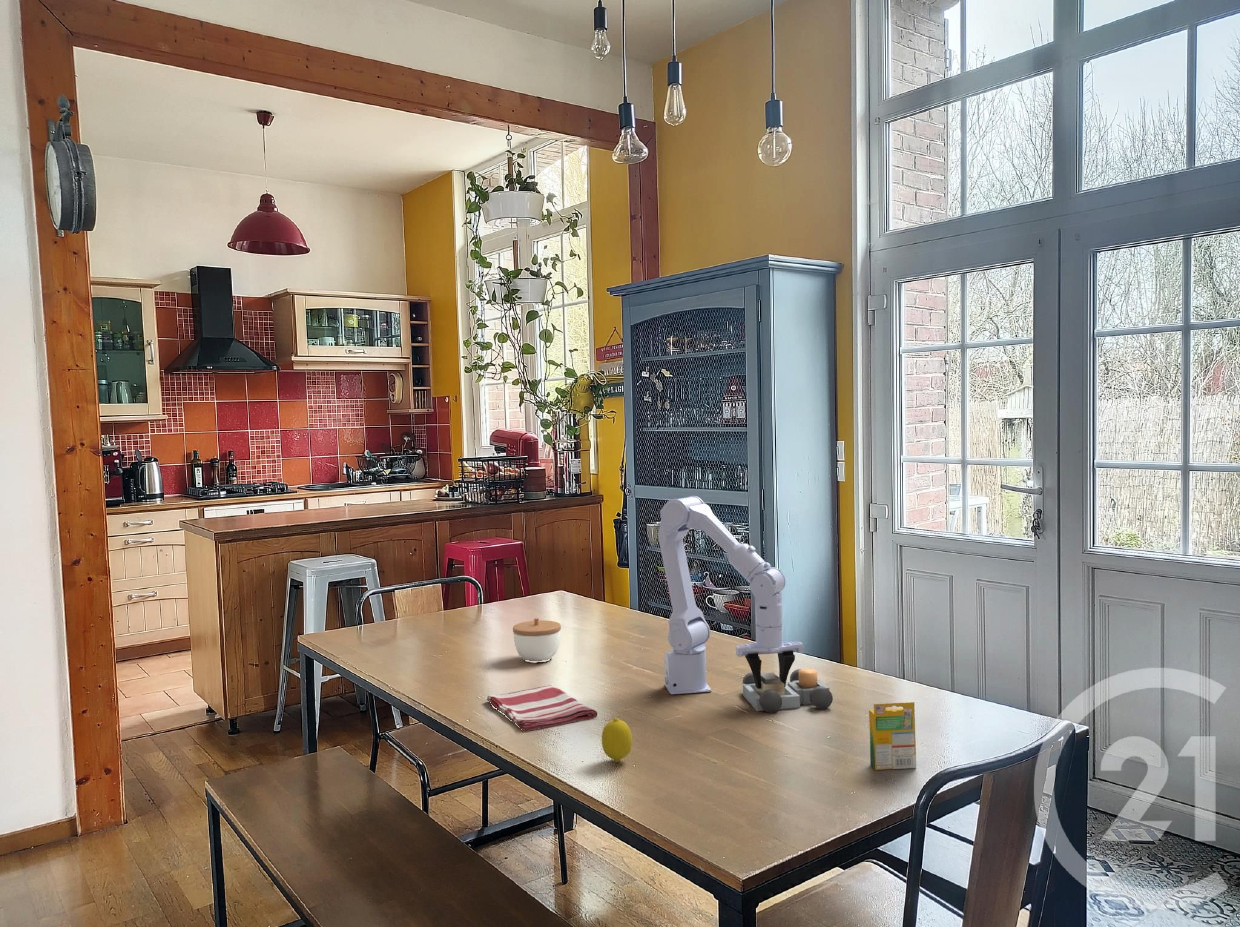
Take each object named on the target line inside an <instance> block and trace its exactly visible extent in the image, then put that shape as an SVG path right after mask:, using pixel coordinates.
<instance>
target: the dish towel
mask: <svg viewBox="0 0 1240 927" xmlns="http://www.w3.org/2000/svg"><path fill="white" fill-rule="evenodd" d="M486 701H487V702H488V701H489V702H491V704H492V705H493V706H494V707H495V708H497V710H499V711H501V712H502V713H504V714H505V715H506V716H507V717H508V718H509V719H510V720H512V721H513V722H514V723H516V724H517V725H518V726H519V727H520V728H521V729H522V730H523V731H526V732H528V731H527V730H531V731H533V730H532V729H536V730H539V729H538V728H541V729H544V728H543V727H545V728H550V727H549V726H551V727H556V726H555V725H557V726H560V725H561V726H562V725H565V723H566V724H569V723H575V722H580V721H583V720H584V721H585V720H586V719H587V720H591V719H594V718H597V716H598V711H597V710H595V709H594V708H591V707H589V706H586V705H585V704H582V703H581V702H579V701H578V700H577V699H576V698H574V697H573V696H571V695H569V694H568V693H567V692H565V691H563V690H562V689H560V688H558V687H554V686H553V685H551V684H550V685H549V684H548V685H544V686H538V687H533V688H530V689H523V690H518V691H513V692H509V693H502V694H488V695H487V698H486ZM489 702H488V703H489ZM510 720H509V721H510ZM579 720H580V721H579ZM587 720H586V721H587ZM574 721H575V722H574ZM514 723H513V724H514ZM519 727H518V728H519ZM520 728H519V729H520ZM521 729H520V730H521ZM522 730H521V731H522ZM523 731H522V732H523Z"/></svg>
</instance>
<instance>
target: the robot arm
mask: <svg viewBox="0 0 1240 927" xmlns="http://www.w3.org/2000/svg"><path fill="white" fill-rule="evenodd" d="M659 514H660V524H659V528H658V531H657V536H658V538H657V539H658V543H659V547H660V554H661V558H662V563H663V568H664V573H665V578H666V583H667V588H668V592H669V597H670V598H669V599H670V602H671V607H672V613H671V614H670V616H669V618H668V635H667V640H668V643H669V646H670V647H671V648H672V650H670V651H665V652H664V658H663V660H664V662H663V663H664V686H665V688H666V689H667V691H668V693H669V694H670V695H682V694H693V693H694V694H695V693H707V692H708V693H711V692H712V688H711V687H710V686H709V684H708V683H707V660H706V658H707V657H706V656H707V655H706V654H707V653H706V645H707V644H706V643H707V642H708V641H709V639H710V637H711V628H710V625H709V624H708V622H707V621H706V619H705V616H704V612H703V611H702V610H701V609H700V608H699V607H698V606H697V603H696V598H695V595H694V593H695V592H694V591H693V589H694V588H693V583H692V578H691V573H690V569H689V566H688V565H689V564H688V560H687V555H686V554H687V553H686V550H685V544H684V538H685V536H686V535H687V534H688V533H689V531H690V530H698V531H702V532H704V533H705V534H706V535H707V536H708V537H709V538H710V539H712V540H713V541H714V542H715V543H716V544H717V545H718V546H719V547H720V548H721V549H722V550H723V551H724V552H726V554H727V555H728V557H727V558H728V563H729V564H730V565H731V566H733V568H734V569H735V570H736V571H737V572H738V573H739V574H740V575H741V576H742V577H743V578H744V579H745V580H746V581H747V583H749V590H750V591H751V594H752V595H753V597H754V608H755V611H754V613H755V616H754V618H755V642H754V643H748V644H741V645H735V655H736V656H737V657H739V658H741V657H745V659H746V661H747V664H748V665H749V667H750V670H751V672H752V673H753V677H754V681H755V686H756V687H757V689H761V672H762V671H761V670H762V661H763V660H762V659H761V658H760V656H761V655H771V654H772V655H773V654H777V659H778V667H779V668H778V669H779V671H778V674H779V676H778V677H779V678H780V681H781V682H783V683H784V687H786V684H787V682H788V681H787V680H788V676H789V673H790V670H791V668H792V666H793V664H794V662H795V660H796V654H794V653H798V654H799V653H800V654H801V653H804V644H803V643H802V642H801V641H783V640H784V638H783V636H784V635H783V603H782V599H783V598H782V591H783V590H784V588H785V586H786V577H785V575H784V573H783V572H782V571H781V569H780V568H777V567H774V566H771V564H770V562H768V561H767V562H766V561H765V560H764V559H763V558H762V557H761V556H760V555H759V554H758V553H757V552H756V550H757V548H755V547H754V545H749V544H748V543H740V542H739V541H738V540H737V539H736V538H735V536H734V535H733V534H732V533H731V532H730V531H729V530H728V528H726V527H725V525H724V524H723V523H722V522H721V521H720V520H719V518H718V517H717V516H716V515H715V514H714V513H713V510H712V509H711V507H710V506H709V505H708V504H707V503H705V502H704V501H703V499H702V498H700V497H699V496H696V495H689V496H687V497H682V498H671V499H669V500H668V501H667V502H666V503H665V504H664V505H663V507H662V508H661V510H660V511H659ZM759 655H760V656H759Z"/></svg>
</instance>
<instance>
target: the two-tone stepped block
mask: <svg viewBox="0 0 1240 927" xmlns="http://www.w3.org/2000/svg"><path fill="white" fill-rule="evenodd" d="M766 690H774V691H776V692H777V693H778V694H779V695H780V696H781V695H785V693H784V683H783V682H781V681H780V678H779V676H778V675H777V674H776V673H774V672H764V673H763V672H762V673H761V689H757V687H756V693H757V694H758V695H759V696H761V694H762V693H763V692H764V691H766Z"/></svg>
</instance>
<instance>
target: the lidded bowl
mask: <svg viewBox="0 0 1240 927" xmlns="http://www.w3.org/2000/svg"><path fill="white" fill-rule="evenodd" d="M561 627H562V626H561V623H559V622H557V621H555V620H545V619H544V620H543V619H542V620H541V619H540V618H539V617H535V618H533V620H530V621H529V620H528V621H524V622H523V621H522V622H518V623H516V624H514V625H513V626H512V632H513V643H514V647H515V650H516V653H517V654H518V655H519V656H520V657H521V658H522V659H523V661H524V660H529V661H542V660H548V659H551V658H553V657H554V656H555V655H556V654H557V652H558V651H559V648H560V645H561V644H560V643H561V629H562V628H561ZM551 660H552V659H551Z"/></svg>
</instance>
